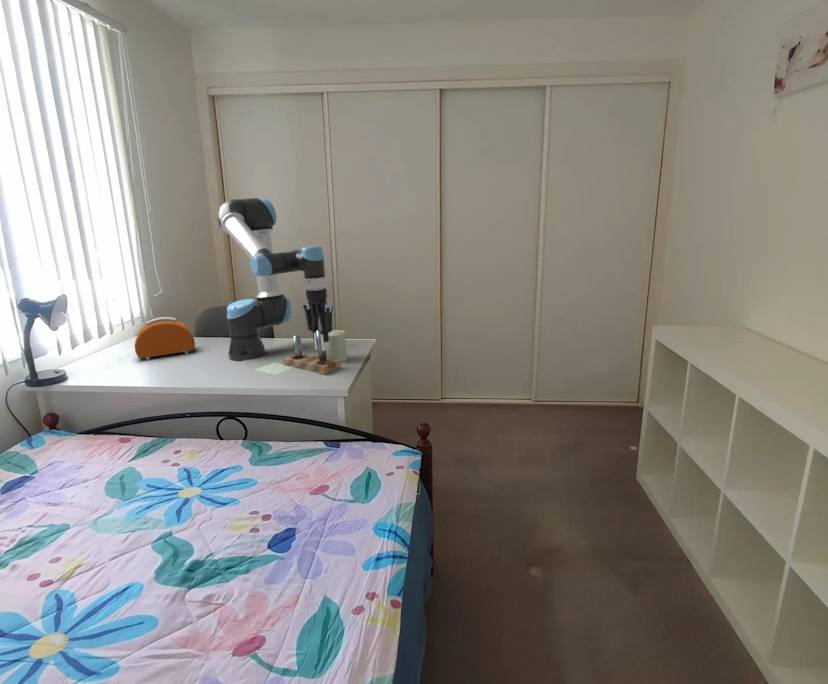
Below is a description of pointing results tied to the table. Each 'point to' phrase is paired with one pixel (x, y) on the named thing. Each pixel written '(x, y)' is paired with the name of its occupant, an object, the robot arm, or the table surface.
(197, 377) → the table surface
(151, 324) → the alarm clock
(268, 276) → the robot arm
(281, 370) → the mat
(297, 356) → the pin
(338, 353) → the can
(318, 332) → the pin
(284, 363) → the socket block
